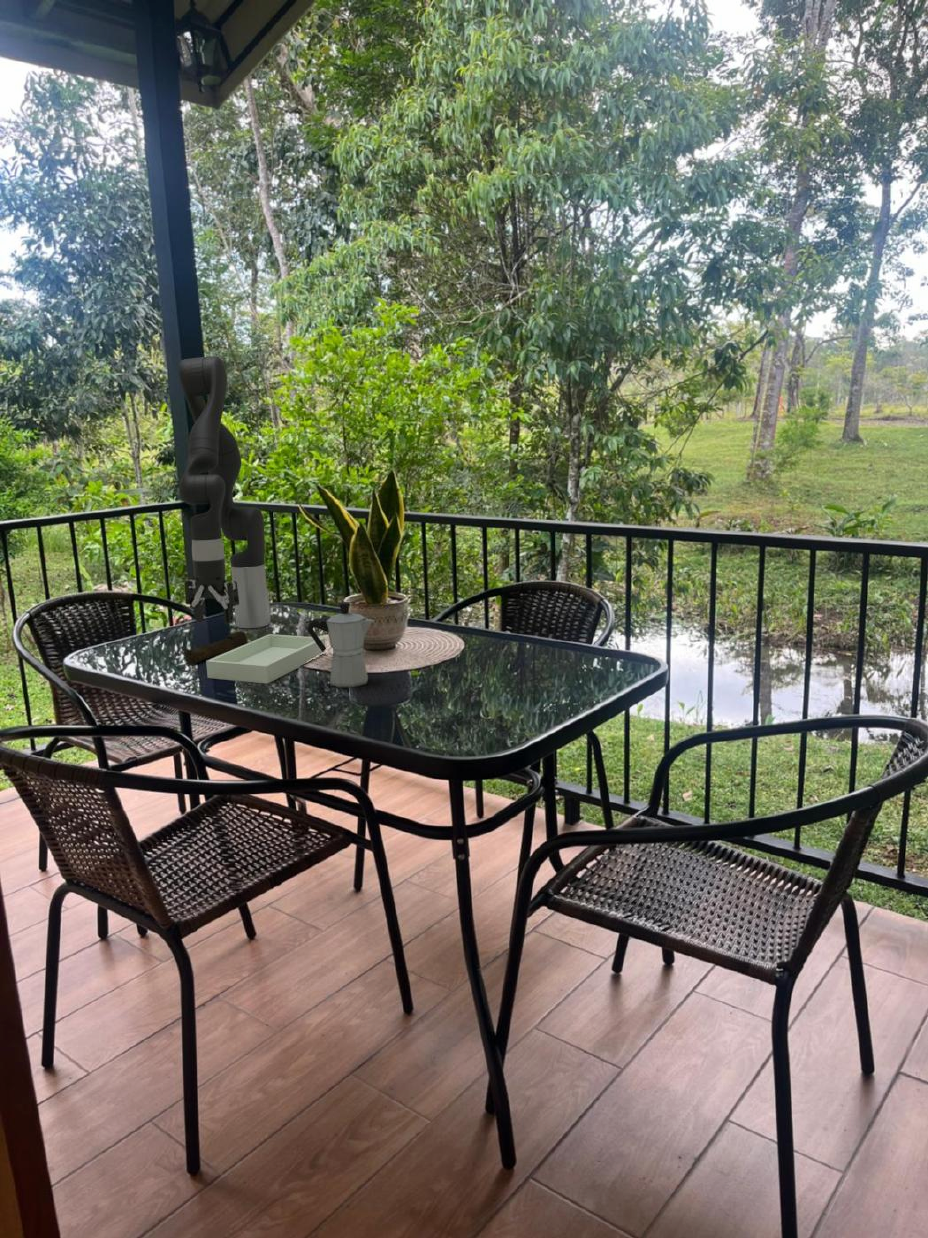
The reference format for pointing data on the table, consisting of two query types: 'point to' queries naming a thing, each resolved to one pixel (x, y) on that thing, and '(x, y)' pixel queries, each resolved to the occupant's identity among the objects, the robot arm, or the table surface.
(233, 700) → the table surface
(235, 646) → the dark brown log
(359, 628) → the coffee maker
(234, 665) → the tray
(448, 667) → the table surface
